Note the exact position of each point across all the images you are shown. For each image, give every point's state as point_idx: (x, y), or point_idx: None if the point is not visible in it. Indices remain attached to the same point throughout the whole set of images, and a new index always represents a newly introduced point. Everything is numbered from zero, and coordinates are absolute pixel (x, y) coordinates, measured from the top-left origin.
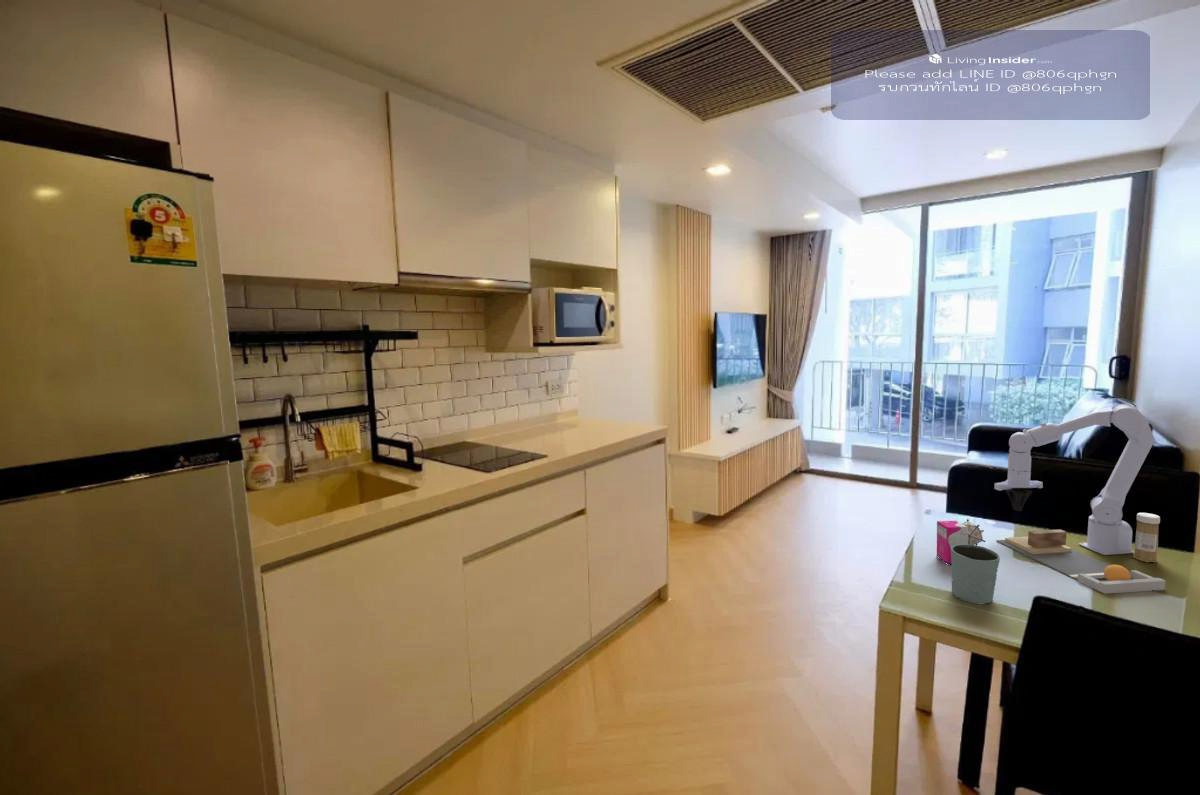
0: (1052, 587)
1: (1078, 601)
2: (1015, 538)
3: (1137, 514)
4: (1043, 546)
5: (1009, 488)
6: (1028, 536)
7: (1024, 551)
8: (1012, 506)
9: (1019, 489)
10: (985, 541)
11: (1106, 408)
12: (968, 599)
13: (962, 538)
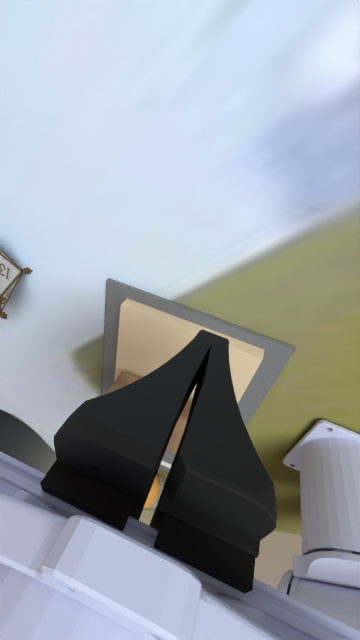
0: (48, 421)
1: (51, 444)
2: (146, 324)
3: None
4: None
5: (28, 487)
6: (107, 392)
7: (115, 358)
8: (193, 339)
9: (154, 519)
10: (6, 318)
11: None
12: None
13: None
